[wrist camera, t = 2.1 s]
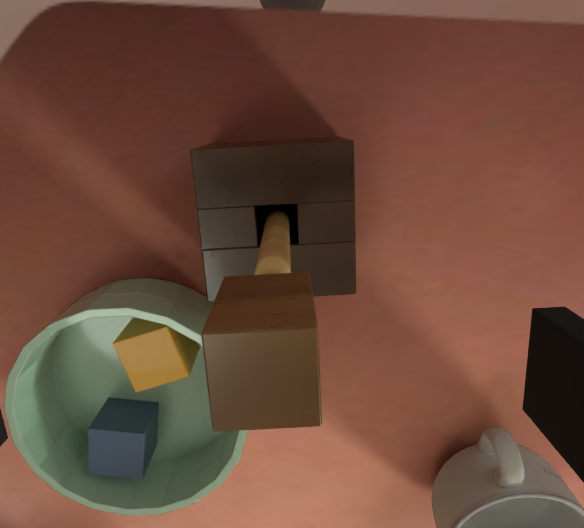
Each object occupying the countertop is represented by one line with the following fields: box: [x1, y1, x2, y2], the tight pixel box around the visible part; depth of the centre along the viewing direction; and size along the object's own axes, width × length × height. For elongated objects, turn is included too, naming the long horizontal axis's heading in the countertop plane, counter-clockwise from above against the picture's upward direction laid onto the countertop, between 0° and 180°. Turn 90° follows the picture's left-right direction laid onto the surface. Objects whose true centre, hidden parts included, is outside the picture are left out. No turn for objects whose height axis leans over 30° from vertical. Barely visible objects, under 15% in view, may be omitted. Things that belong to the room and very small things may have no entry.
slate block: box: [88, 397, 159, 479], centre depth 36 cm, size 4×4×4 cm
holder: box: [190, 137, 356, 302], centre depth 30 cm, size 9×9×7 cm
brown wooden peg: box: [201, 204, 322, 432], centre depth 22 cm, size 3×3×24 cm
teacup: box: [432, 428, 584, 528], centre depth 36 cm, size 14×11×8 cm
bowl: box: [4, 278, 248, 516], centre depth 35 cm, size 16×16×6 cm
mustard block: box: [113, 318, 199, 392], centre depth 34 cm, size 4×4×4 cm
